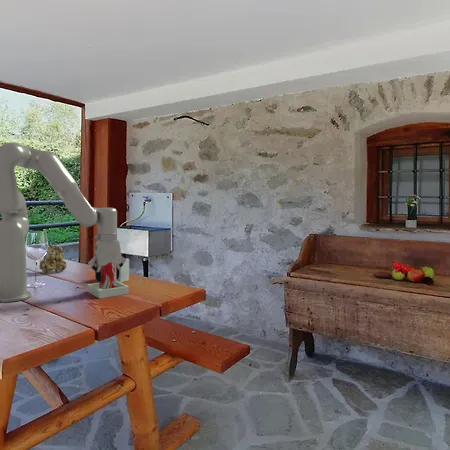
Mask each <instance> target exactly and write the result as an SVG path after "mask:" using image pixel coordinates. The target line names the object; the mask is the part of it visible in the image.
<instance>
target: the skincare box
mask: <svg viewBox="0 0 450 450" xmlns="http://www.w3.org/2000/svg"><path fill="white" fill-rule="evenodd" d="M125 259H126V261H125V263H124V264H123V266H122V267H121V269H120V270H119V279H116V281H118V282H120V283H124V282H128V281H130V258H125Z"/></svg>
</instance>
